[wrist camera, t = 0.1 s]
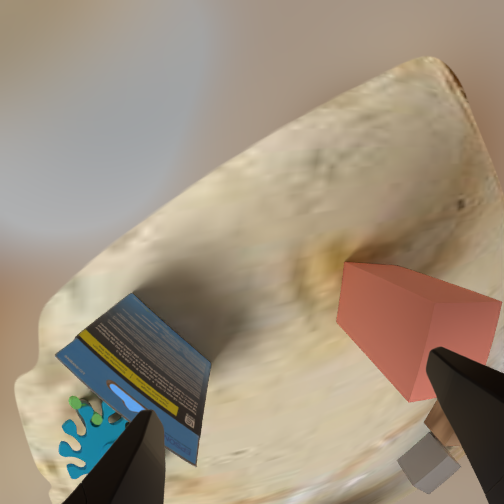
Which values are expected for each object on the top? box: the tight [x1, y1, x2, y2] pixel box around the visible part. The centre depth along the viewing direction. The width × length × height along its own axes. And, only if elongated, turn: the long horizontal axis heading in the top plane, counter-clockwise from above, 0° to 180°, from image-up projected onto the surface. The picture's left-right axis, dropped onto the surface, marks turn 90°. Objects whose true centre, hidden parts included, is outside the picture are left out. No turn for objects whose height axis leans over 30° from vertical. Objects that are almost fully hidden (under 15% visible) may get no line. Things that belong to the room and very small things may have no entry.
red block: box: [336, 262, 502, 402], centre depth 18 cm, size 5×5×12 cm
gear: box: [59, 396, 128, 479], centre depth 23 cm, size 11×6×10 cm
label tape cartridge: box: [55, 293, 211, 467], centre depth 18 cm, size 9×4×12 cm, turn 47°
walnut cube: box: [424, 399, 461, 446], centre depth 24 cm, size 5×5×5 cm
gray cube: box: [397, 433, 461, 494], centre depth 25 cm, size 5×5×5 cm
